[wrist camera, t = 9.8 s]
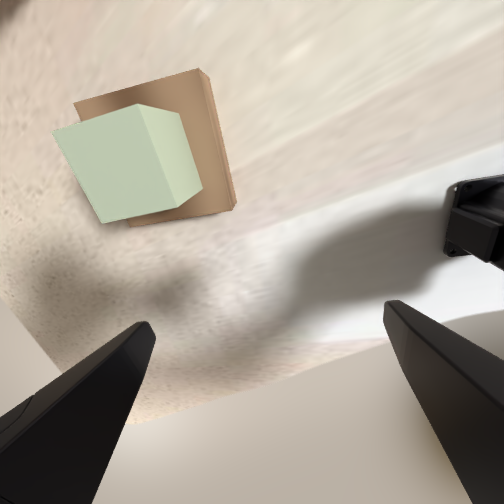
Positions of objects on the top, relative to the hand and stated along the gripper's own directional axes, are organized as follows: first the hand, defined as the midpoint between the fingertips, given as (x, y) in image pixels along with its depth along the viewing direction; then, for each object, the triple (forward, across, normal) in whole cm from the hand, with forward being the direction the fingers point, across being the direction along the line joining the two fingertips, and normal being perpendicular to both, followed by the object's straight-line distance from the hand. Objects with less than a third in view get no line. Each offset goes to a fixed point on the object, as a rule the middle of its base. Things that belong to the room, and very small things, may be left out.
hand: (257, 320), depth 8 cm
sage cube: (+10, +7, -6) cm, 14 cm away
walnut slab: (+14, +7, -6) cm, 16 cm away
